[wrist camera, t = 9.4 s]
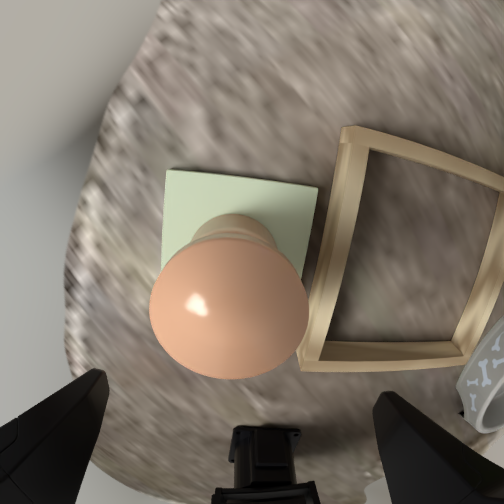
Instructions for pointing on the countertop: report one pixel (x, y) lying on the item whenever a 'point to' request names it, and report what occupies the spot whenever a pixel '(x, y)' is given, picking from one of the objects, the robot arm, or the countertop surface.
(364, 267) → the countertop surface
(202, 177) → the potting mat
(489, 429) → the dog bowl
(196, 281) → the peach rimmed cylinder
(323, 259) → the wooden square frame
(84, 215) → the countertop surface
